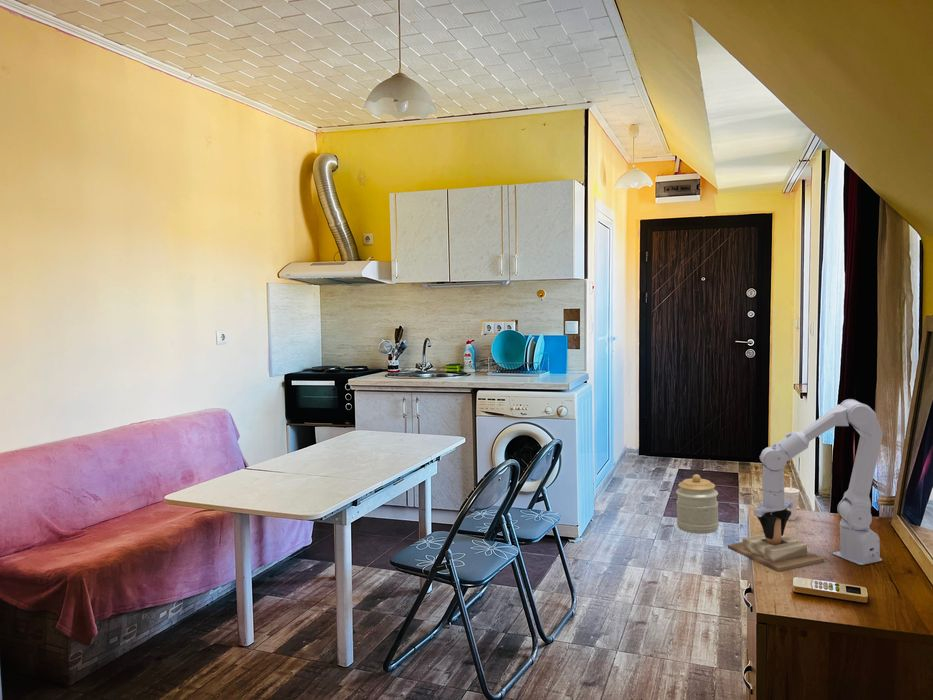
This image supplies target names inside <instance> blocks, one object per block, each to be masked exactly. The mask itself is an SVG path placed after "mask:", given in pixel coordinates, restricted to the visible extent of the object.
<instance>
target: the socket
mask: <svg viewBox="0 0 933 700" xmlns="http://www.w3.org/2000/svg"><path fill="white" fill-rule="evenodd" d="M727 549H728V550H730V551H733V552H736V554H739V555H742V556H743V557H746V558H748V559H749V560H752V561H754V562H756V563H759V564H762V565H763V566H766V567H767V568H769V569H772V570H774V571H777V572H783V571H788V570H793V569H797V568H802V567H807V566H811V565H815V564H821V563H825V558H824V557H823V556H819V555H817V554H815V553H812V552H810V551H808V544H807V543H805V542H802V541H799V540H797V539H794V538H792V537H789V536H786V535H785V534H783V536H781V544H780V545H775V546H773V545H771V544H769V543H766V537H765V534H764V533H763V534H756V535H751V536H747V537H743V538H742V542H735V543H731V544H727Z"/></svg>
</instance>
